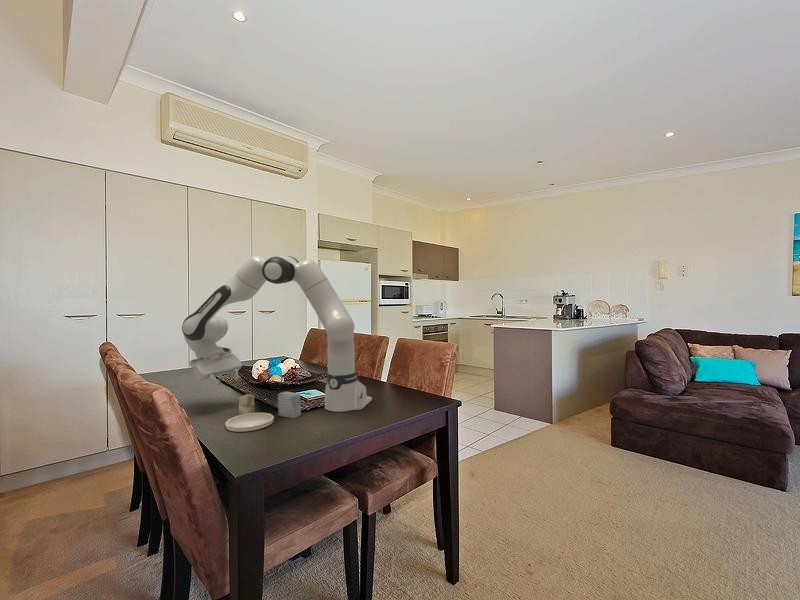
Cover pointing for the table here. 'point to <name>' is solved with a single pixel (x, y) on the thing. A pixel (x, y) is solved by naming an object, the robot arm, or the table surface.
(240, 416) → the dish
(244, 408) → the birch block
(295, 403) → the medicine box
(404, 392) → the table surface
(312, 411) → the table surface
